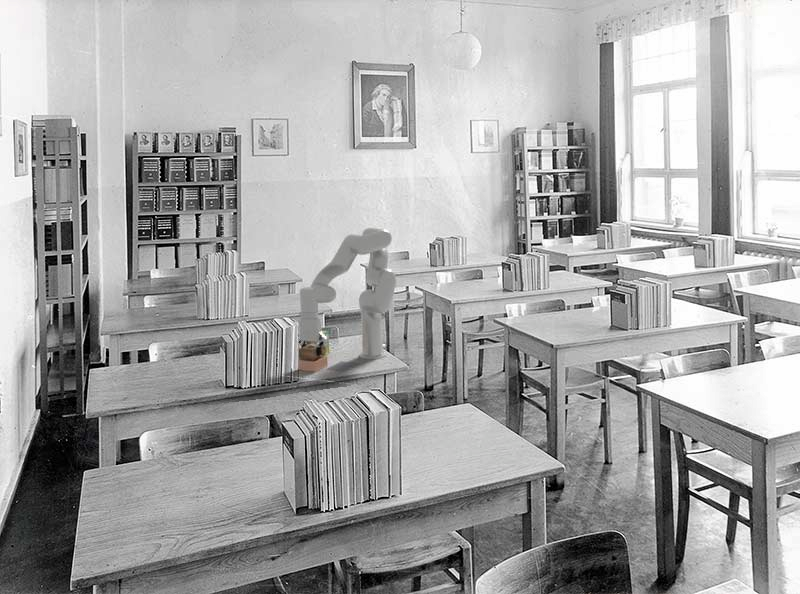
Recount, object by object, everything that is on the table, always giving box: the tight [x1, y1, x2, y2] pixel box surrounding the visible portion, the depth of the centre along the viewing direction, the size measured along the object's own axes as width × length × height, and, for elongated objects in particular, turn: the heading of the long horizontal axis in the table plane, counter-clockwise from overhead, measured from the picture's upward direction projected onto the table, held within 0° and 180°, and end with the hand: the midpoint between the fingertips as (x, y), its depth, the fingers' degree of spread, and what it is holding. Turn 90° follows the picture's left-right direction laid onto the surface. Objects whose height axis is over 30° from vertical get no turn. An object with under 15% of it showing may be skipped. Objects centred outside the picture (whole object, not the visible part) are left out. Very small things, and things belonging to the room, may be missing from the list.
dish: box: [298, 355, 329, 373], centre depth 326 cm, size 10×10×5 cm
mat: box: [325, 360, 362, 372], centre depth 327 cm, size 14×10×1 cm
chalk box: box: [305, 330, 330, 357], centre depth 346 cm, size 9×9×15 cm
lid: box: [298, 343, 325, 360], centre depth 324 cm, size 11×7×5 cm, turn 155°
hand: (311, 354), depth 325 cm, fingers closed on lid, 6 cm apart
